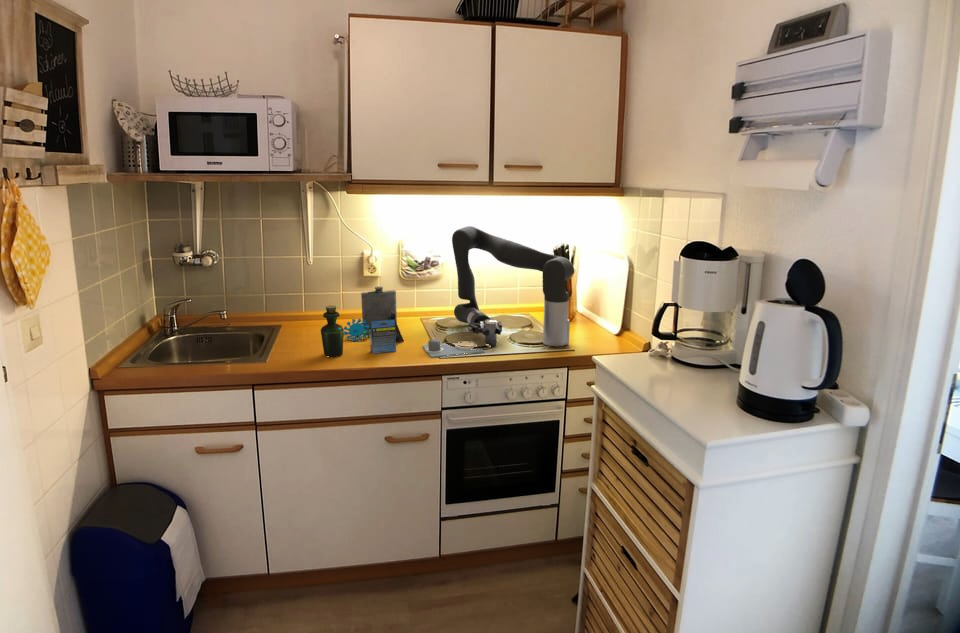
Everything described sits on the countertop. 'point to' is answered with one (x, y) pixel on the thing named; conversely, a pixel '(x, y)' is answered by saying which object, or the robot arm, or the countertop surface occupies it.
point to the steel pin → (491, 332)
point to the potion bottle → (332, 333)
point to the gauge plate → (447, 349)
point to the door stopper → (397, 331)
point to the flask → (377, 305)
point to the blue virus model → (357, 330)
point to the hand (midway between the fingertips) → (493, 332)
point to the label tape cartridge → (382, 336)
